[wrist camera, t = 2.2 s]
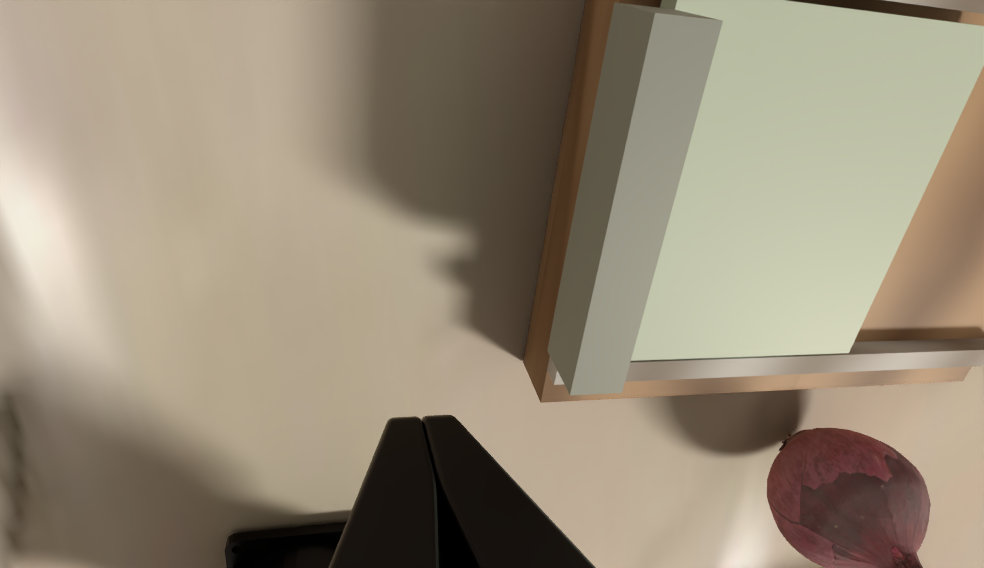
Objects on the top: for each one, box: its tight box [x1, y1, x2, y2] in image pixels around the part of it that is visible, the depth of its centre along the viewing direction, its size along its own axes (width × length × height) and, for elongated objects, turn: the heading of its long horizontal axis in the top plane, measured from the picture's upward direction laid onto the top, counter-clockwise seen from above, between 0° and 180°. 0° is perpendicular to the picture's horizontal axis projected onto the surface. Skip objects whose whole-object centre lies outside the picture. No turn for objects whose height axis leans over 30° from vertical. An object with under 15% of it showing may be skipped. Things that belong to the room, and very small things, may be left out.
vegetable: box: [767, 428, 930, 568], centre depth 25 cm, size 6×6×10 cm
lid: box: [547, 0, 984, 395], centre depth 18 cm, size 12×11×3 cm
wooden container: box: [523, 0, 984, 402], centre depth 21 cm, size 19×16×3 cm
